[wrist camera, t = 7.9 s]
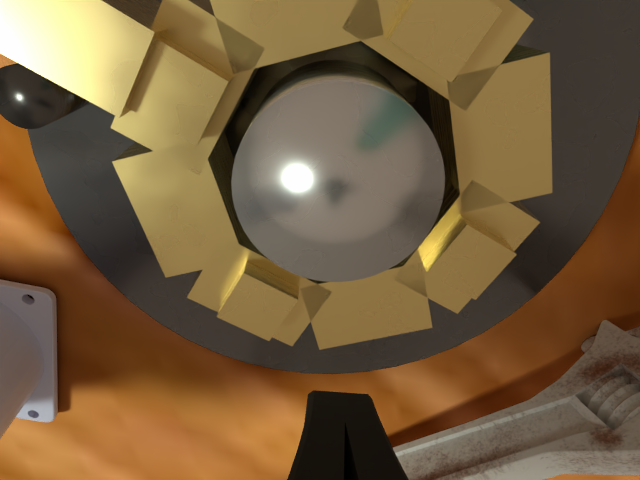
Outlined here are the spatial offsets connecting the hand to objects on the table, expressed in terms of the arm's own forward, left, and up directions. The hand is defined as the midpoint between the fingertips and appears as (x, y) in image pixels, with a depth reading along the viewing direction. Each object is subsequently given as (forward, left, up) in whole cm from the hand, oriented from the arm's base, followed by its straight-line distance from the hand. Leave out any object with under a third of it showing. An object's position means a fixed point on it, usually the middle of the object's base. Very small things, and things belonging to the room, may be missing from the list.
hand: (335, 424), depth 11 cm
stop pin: (-9, +4, -10) cm, 14 cm away
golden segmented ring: (-3, +4, -9) cm, 10 cm away
